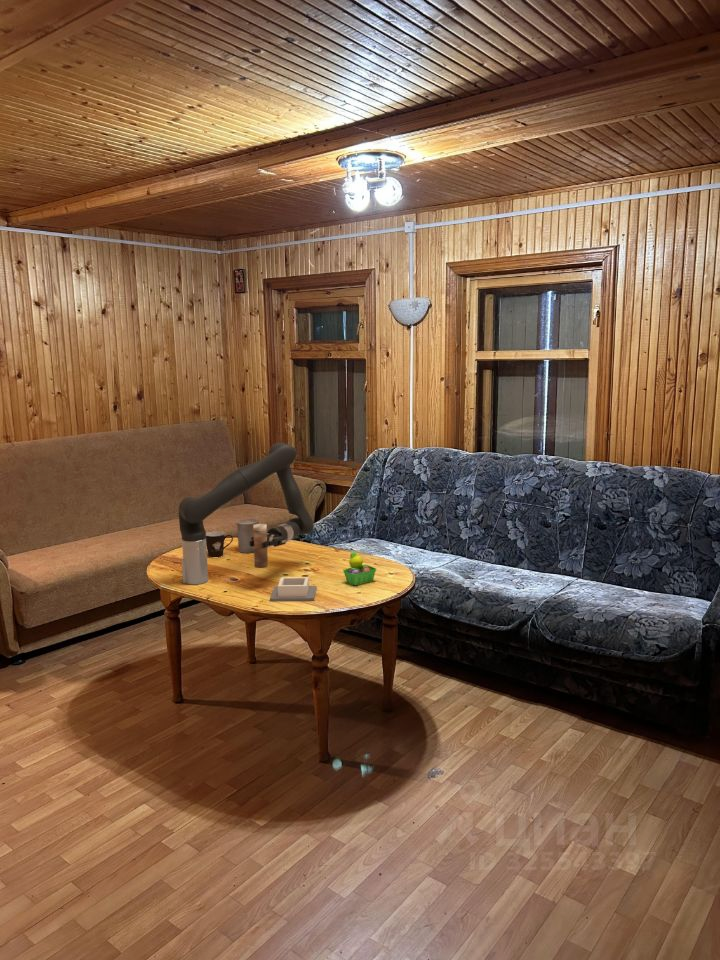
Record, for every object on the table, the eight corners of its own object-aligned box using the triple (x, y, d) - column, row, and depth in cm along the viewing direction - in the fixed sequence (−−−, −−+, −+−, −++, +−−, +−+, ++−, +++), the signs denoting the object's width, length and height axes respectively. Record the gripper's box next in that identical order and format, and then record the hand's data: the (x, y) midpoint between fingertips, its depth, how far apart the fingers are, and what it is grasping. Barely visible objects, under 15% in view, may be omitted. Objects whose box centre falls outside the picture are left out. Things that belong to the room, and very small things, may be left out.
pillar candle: (262, 547, 335) (260, 515, 332) (257, 553, 325) (255, 520, 322) (241, 547, 336) (239, 515, 333) (235, 553, 326) (234, 520, 323)
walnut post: (253, 568, 276) (252, 526, 273) (255, 564, 281) (254, 523, 278) (266, 568, 276) (265, 526, 273) (268, 564, 281) (267, 523, 278)
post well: (269, 601, 263) (269, 587, 262) (274, 588, 277) (274, 576, 276) (314, 600, 263) (313, 587, 262) (316, 588, 277) (316, 575, 276)
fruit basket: (353, 587, 278) (353, 558, 276) (340, 581, 285) (340, 553, 283) (377, 581, 284) (377, 553, 282) (364, 576, 292) (363, 548, 290)
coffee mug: (203, 558, 318) (202, 536, 317) (208, 553, 327) (207, 531, 325) (230, 558, 318) (229, 536, 316) (234, 552, 327) (233, 531, 325)
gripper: (264, 523, 292) (240, 533, 277) (295, 527, 286) (272, 537, 271) (265, 542, 293) (240, 552, 278) (296, 545, 287) (273, 556, 272)
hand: (256, 544), depth 275 cm, fingers closed on walnut post, 5 cm apart
